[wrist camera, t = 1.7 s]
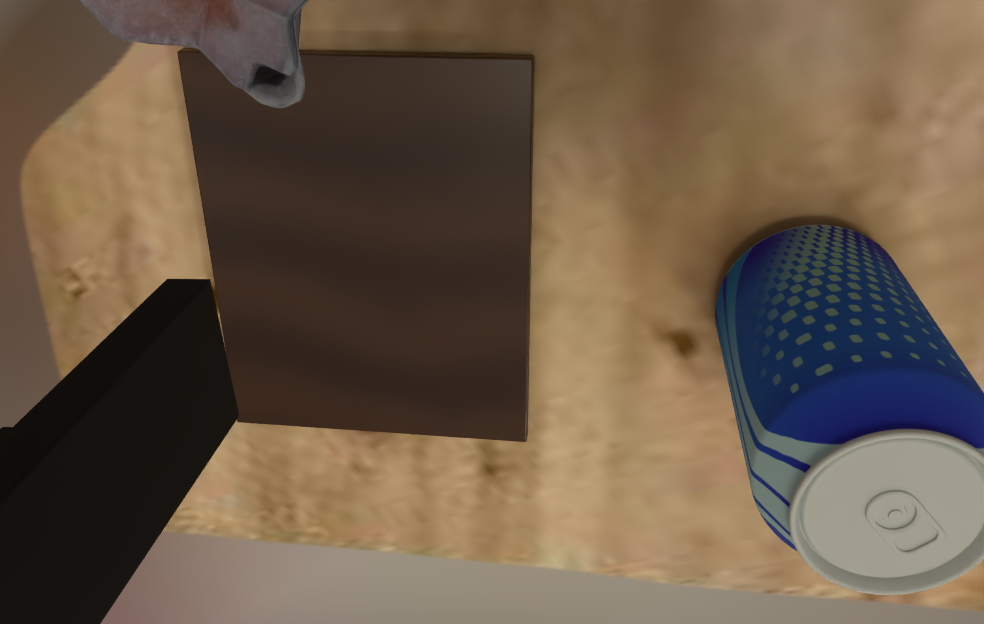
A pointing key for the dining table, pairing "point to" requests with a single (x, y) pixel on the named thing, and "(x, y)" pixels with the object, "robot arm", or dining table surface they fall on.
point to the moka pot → (221, 38)
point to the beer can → (853, 413)
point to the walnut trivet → (373, 240)
